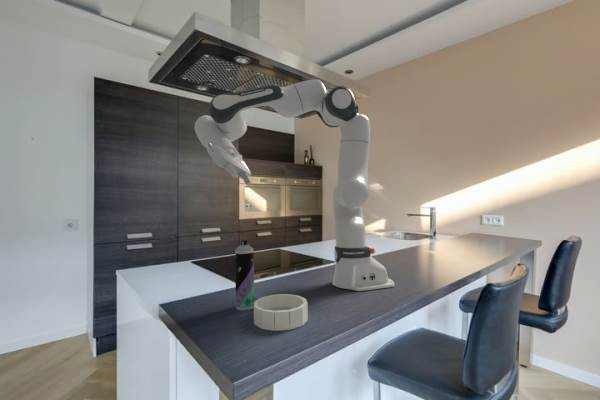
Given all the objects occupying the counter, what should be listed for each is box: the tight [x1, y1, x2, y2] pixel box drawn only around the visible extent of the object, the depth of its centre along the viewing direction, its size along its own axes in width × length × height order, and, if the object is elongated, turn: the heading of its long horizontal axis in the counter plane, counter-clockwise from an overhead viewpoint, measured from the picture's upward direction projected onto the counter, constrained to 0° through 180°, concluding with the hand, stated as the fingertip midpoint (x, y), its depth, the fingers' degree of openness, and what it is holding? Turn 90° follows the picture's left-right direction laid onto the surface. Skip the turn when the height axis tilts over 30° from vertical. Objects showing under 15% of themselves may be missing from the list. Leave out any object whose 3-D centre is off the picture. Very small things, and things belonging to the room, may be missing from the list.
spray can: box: [234, 239, 256, 312], centre depth 89 cm, size 6×6×20 cm
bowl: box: [253, 293, 309, 332], centre depth 79 cm, size 14×14×4 cm
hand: (242, 180), depth 101 cm, fingers open, 8 cm apart
